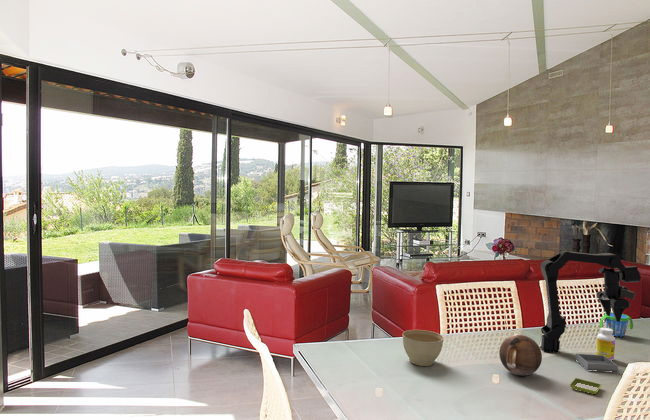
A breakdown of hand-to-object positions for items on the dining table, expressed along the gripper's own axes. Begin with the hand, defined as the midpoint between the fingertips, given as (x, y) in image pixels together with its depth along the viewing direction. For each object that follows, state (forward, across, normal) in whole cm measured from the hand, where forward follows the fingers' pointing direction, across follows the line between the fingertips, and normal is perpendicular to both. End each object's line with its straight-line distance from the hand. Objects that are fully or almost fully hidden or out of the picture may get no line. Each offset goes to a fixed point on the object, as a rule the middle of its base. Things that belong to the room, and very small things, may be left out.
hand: (613, 318), depth 209 cm
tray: (+15, -16, +14) cm, 26 cm away
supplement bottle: (+16, -6, +6) cm, 18 cm away
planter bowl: (+8, -28, +83) cm, 88 cm away
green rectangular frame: (+14, -41, +27) cm, 51 cm away
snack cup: (+18, +32, -14) cm, 39 cm away
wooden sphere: (+12, -32, +47) cm, 58 cm away
